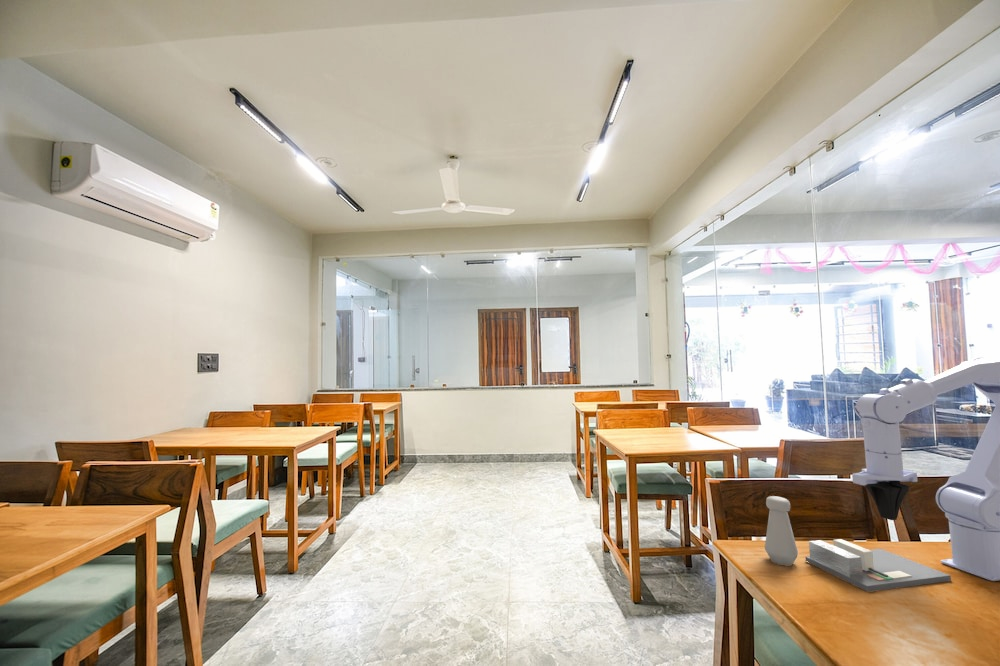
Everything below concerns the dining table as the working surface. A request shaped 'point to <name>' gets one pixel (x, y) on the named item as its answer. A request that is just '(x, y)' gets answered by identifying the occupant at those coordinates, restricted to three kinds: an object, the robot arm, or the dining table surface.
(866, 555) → the white rectangular bar
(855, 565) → the grey block
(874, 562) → the base
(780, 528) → the salt shaker
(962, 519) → the robot arm
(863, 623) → the dining table surface
